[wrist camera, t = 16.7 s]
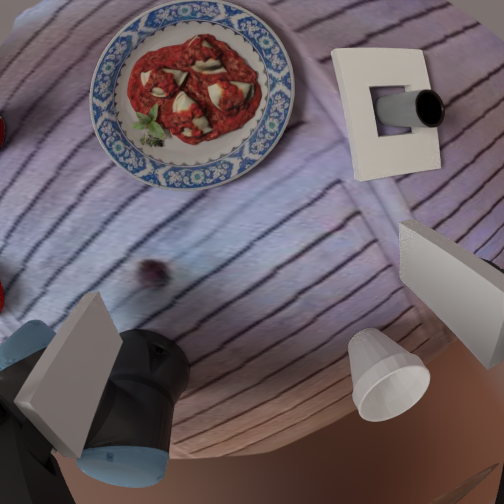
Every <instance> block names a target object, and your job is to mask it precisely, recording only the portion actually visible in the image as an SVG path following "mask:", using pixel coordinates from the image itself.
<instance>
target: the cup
mask: <svg viewBox="0 0 504 504" xmlns="http://www.w3.org/2000/svg"><path fill="white" fill-rule="evenodd" d="M348 353H349V360H350V367H351V374H352V381H353V389H354V390H353V394H352V397H353V402H354V403H355V405H356V407H357V409H358V411H359V414H360V416H361V417H362V418H363V419H365V420H367V421H375V422H376V421H384V420H387V419H390V418H393V417H395V416H398V415H400V414H401V413H403V412H405V411H406V410H408V409H409V408H410V407H412V406H413V405H414V404H415V403H416V402H417V401H418V400H419V399H420V398H421V397H422V396H423V394H424V393H425V391H426V390H427V387H428V385H429V382H430V374H429V370H428V369H427V368H426V367H425V366H424V364H423V362H422V361H421V359H420V358H419V357H418V356H417V355H415V354H412V353H409V352H408V351H407V350H405V349H404V348H403V347H401V346H400V345H398V344H397V343H396V342H394V341H393V340H392V339H390V338H389V337H388V336H386V335H385V334H383V333H382V332H381V331H379V330H378V329H375V328H367V329H364V330H361V331H360V332H358V333H356V334H355V335H354V336H353V337H352V339H351V340H350V342H349V344H348Z"/></svg>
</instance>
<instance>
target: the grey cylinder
mask: <svg viewBox="0 0 504 504" xmlns="http://www.w3.org/2000/svg"><path fill="white" fill-rule="evenodd" d="M375 112H376V116H377V118H378V119H379V121H380V122H381V123H383V124H384V125H387V126H399V127H424V128H435V127H438V126H439V125H440V124H441V123H442V121H443V119H444V115H445V109H444V104H443V102H442V100H441V98H440V97H439V95H438V94H437V93H435V92H434V91H432V90H429V89H424V90H416V91H409V92H402V93H396V94H390V95H385V96H382V97H380V98H379V99H378V100H377V102H376V105H375Z"/></svg>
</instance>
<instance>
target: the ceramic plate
mask: <svg viewBox="0 0 504 504" xmlns="http://www.w3.org/2000/svg"><path fill="white" fill-rule="evenodd" d="M294 95H295V81H294V74H293V68H292V64H291V61H290V58H289V56H288V53H287V51H286V49H285V47H284V45H283V43H282V42H281V40H280V39H279V37H278V36H277V35H276V33H275V32H274V31H273V30H272V29H271V28H270V27H269V26H268V25H267V24H266V23H265V22H264V21H263V20H262V19H260V18H259V17H258V16H256V15H255V14H253V13H252V12H250V11H248V10H246V9H244V8H242V7H240V6H238V5H235V4H232V3H229V2H225V1H221V0H176V1H172V2H168V3H165V4H162V5H159V6H157V7H154V8H152V9H150V10H148V11H146V12H144V13H142V14H141V15H139V16H138V17H136V18H135V19H133V20H132V21H131V22H129V23H128V24H127V25H126V26H125V27H123V28H122V29H121V30H120V31H119V32H118V33H117V34H116V36H115V37H114V38H113V39H112V40H111V42H110V43H109V44H108V46H107V47H106V48H105V50H104V52H103V54H102V55H101V57H100V59H99V61H98V64H97V66H96V69H95V72H94V74H93V78H92V83H91V89H90V113H91V119H92V123H93V127H94V130H95V133H96V136H97V138H98V140H99V142H100V144H101V145H102V147H103V149H104V150H105V152H106V153H107V154H108V156H109V157H110V158H111V159H112V160H113V161H114V162H115V163H116V164H117V166H119V167H120V168H121V169H122V170H123V171H125V172H126V173H128V174H129V175H131V176H132V177H134V178H135V179H137V180H139V181H141V182H144V183H146V184H148V185H151V186H155V187H158V188H162V189H167V190H175V191H193V190H203V189H208V188H212V187H216V186H219V185H222V184H225V183H227V182H230V181H232V180H234V179H236V178H238V177H240V176H241V175H243V174H245V173H246V172H248V171H249V170H251V169H252V168H254V167H255V166H256V165H257V164H258V163H260V162H261V161H262V160H263V159H264V158H265V157H266V156H267V155H268V154H269V152H270V151H271V150H272V149H273V148H274V146H275V145H276V144H277V142H278V141H279V139H280V138H281V136H282V134H283V132H284V130H285V128H286V126H287V124H288V121H289V119H290V116H291V112H292V108H293V102H294Z"/></svg>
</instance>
